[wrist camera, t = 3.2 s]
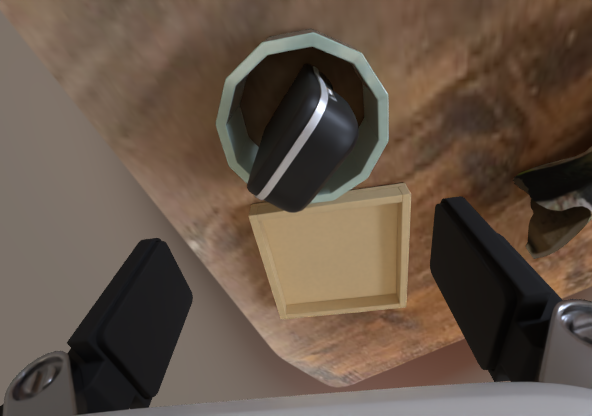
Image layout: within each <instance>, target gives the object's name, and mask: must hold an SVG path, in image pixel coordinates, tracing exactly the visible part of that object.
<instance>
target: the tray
mask: <svg viewBox="0 0 592 416" xmlns="http://www.w3.org/2000/svg"><path fill="white" fill-rule="evenodd" d="M410 211H411V193H410V191H409V189H408V188H407V186H406V184H405V183H400V184H393V185H386V186H379V187H372V188H364V189H357V190H350V191H347V192H346V193H344V194H343V195H341V196H340V197H338V198H337V199H335V200H333V201H326V202H319V203H312V204H309V205H308V206H307V207H306V208H304V209H303V210H302V211H299V212H296V213H289V212H286V211H284V210H282V209H280V208H278V207H276V206H274V205H272V204H271V203H269V202H264V203H257V204H251V208H250V212H249V215H248V216H249V220H250V223H251V226H252V229H253V232H254V236H255V239H256V242H257V245H258V248H259V252H260V255H261V258H262V261H263V264H264V268H265V271H266V274H267V277H268V280H269V284H270V287H271V290H272V293H273V296H274V300H275V303H276V306H277V309H278V312H279V315H280V319H281V320H282V319H293V318H303V317H313V316H323V315H334V314H344V313H354V312H364V311H375V310H385V309H395V308H399V307H400V308H404V307H406V301H407V279H408V256H409V234H410Z"/></svg>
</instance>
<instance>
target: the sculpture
mask: <svg viewBox="0 0 592 416" xmlns="http://www.w3.org/2000/svg"><path fill="white" fill-rule="evenodd" d="M513 181H514V182H515V183H514V184H516V185H517V186H518V187H519V188H520V189H522V190H524V191H525V192H527V193H528V194H529V195H530V197H531V208H532V210H533V213H534V214H533V216H532V218H531V220H530V223H529V230H528V242H527V244H526V248H527V250H528V251H529V253H530V254H531V255H532V257H533V258H534V259H535V258H539V257H545V256H547V255H549V254H552V253H554V252H555V251H557V250H559V249H560V248H562V247H563V246H564V245H566V244H567V243H568V242H569V241H570V240H571V239H572V238H573V237H575V236H576V235H577V234H578V233H579V232H580V231H581V230H582V229H583V227H584V226H585V225H586V224H587V223H588V222H589V221H590V220H591V219H592V146H591V147H590V148H589V149H588V150H587V151H586V152H584V153H582V154H580V155H577V156H575V157H572V158H568V159H564V160H560V161H556V162H552V163H548V164H544V165H540V166H537V167H534V168H531V169H529V170H526V171H524V172H521V173H520V174H518V175H517V176H515V177H514V179H513Z"/></svg>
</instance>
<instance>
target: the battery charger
mask: <svg viewBox="0 0 592 416" xmlns="http://www.w3.org/2000/svg"><path fill="white" fill-rule="evenodd" d="M358 135H359V132H358V123H357V120H356V117H355V115H354V113H353V111H352V109H351V108H350V106H349V104H348V102H347V101H346V100H344V99H343V98H342V97H341V96H340V95H338V94H337V93H336V92H334V91H333V87H332V85H331V83H330V81H329V80H328V79H327V78H326V76H325V75H324V74H322V73H321V72H319V71H318V69H317V68H316V67H315V66H311V65H310V64H304V65H303V67H302V68H301V70H300V72H299V73H298V75H297V77H296V78H295V80H294V82H293V83H292V85H291V86H290V88H289V90H288V91H287V93H286V95H285V96H284V98H283V100H282V101H281V103H280V105H279V106H278V108H277V110H276V111H275V113H274V115H273V116H272V118H271V120H270V121H269V123H268V125H267V126H266V128H265V130H264V133H263V136H262V140H261V143H260V146H259V149H258V151H257V154H256V157H255V160H254V163H253V167H252V170H251V173H250V176H249V180H248V184H247V188H248V190H249V192H251V193H252V194H254V195H255V197H256V198H258V199H260V200H265V201H267V202H269V203H271V204H272V205H274V206H276V207H278V208H280V209H282V210H284V211H286V212H289V213H296V212H299V211H302V210H303V209H304V208H306V207H307V206H308V205H309V204H310V203H311V201H312V200H313V199H314V198H315V196H316V195H317V194H318V193H319V192H320V190H321V189H322V188H323V187H324V185H325V184H326V183H327V182H328V181H329V179H330V178H331V177H332V176H333V174H334V173H335V172H336V170H337V169H338V168H339V167H340V165H341V164H342V163H343V162H344V160H345V159H346V158H347V157H348V155H349V154H350V153H351V151H352V150H353V148H354V147H355V144H356V142H357V139H358Z"/></svg>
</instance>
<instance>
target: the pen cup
mask: <svg viewBox="0 0 592 416" xmlns="http://www.w3.org/2000/svg"><path fill="white" fill-rule="evenodd" d="M307 47H315V48H317V49H319V50H322V51H324V52H326V53H329V54H331V55H333V56H336V57H338V58H340V59H343V60H345V61H348V62H349V64H350V65H351V67H352V68H353V70H354V71H355V73H356V74H357V76H358V77H359V79H360V80H361V82H362V83H363V101H364V119H363V121H362V123H361V125H360V127H359V129H358V132H359V135H358V139H357V142H356V144H355V147H354V148H353V150H352V151H351V153H350V154H349V155H348V157H347V158H346V159H345V160H344V162H343V163H342V164H341V165H340V167H339V168H338V169H337V170H336V172H335V173H334V174H333V176H332V177H331V178H330V179H329V181H328V182H327V183H326V184H325V185H324V187H323V188H322V189H321V190H320V192H319V193H318V194H317V195H316V196H315V198H314V199H313V200H312V201H311V203H310V204H312V203H319V202H326V201H333V200H335V199H337V198H338V197H340V196H341V195H343V194H344V193H346V192H347V191H349V190H350V189H352V188H353V187H355V186H356V185H358V184H360V183H361V182H363V181H364V180H366V179H367V178H368V176H369V175H370V173H371V171H372V169H373V167H374V166H375V164H376V162H377V160H378V159H379V157H380V155H381V153H382V151H383V150H384V148H385V146H386V144H387V143H388V140H389V124H388V93H387V92H386V90H385V89H384V87H383V86H382V84H381V82H380V81H379V79H378V78H377V76H376V75H375V73H374V71H373V70H372V68H371V67H370V65H369V64H368V62H367V60H366V59H365V57H364V56H363V54H362V53H361V52H359V51H358V50H356V49H354V48H353V47H351V46H350V45H348V44H346V43H343V42H341V41H339V40H336V39H334V38H332V37H330V36H327V35H325V34H323V33H320V32H318V31H316V30H314V29H306V30H300V31H295V32H290V33H285V34H280V35H275V36H270V37H269V38H267V39H266V40H264V41H263V42H262V43H261V44H260V45H259V46H258V47H257V48H256V49H255V50H254V51H253V52H252V53H251V54H250V55H249V56H248V57H247V58H246V59H245V60H244V61H243V62H242V63H241V64H240V65H239V66H238V67H237V68H236V69H235V70H234V71H233V72H232V73H231V74H230V75H229V76H228V77H227V78H226V79H225V83H224V88H223V92H222V97H221V101H220V106H219V110H218V115H217V119H216V128H217V131H218V134H219V137H220V140H221V144H222V147H223V150H224V153H225V156H226V159H227V162H228V165H229V167H230V168H231V169H232V170H233V171H234V172H235V173H236V174H237V175H239V176H240V177H241V178H242V179H243V180H244V181H245V182H246V183H247V184H248V180H249V176H250V173H251V170H252V167H253V163H254V160H255V157H256V154H257V151H258V149H259V147H258V146H257V145H256V144H255V143H254V142H253V141H252V140H251V139H250V138H249V137H248V134H247V130H246V126H245V123H244V119H243V115H242V111H241V108H240V103H241V99H242V95H243V91H244V87H245V83H246V79H247V76H248V73H249V72H251V71H252V70H253V69H254V68H255V67H256V66H257V65H258V64H259V63H260V62H261V61H262V60H263V59H264V58H265V57H266V56H267V55H271V54H276V53H281V52H286V51H292V50H297V49H302V48H307Z"/></svg>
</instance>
